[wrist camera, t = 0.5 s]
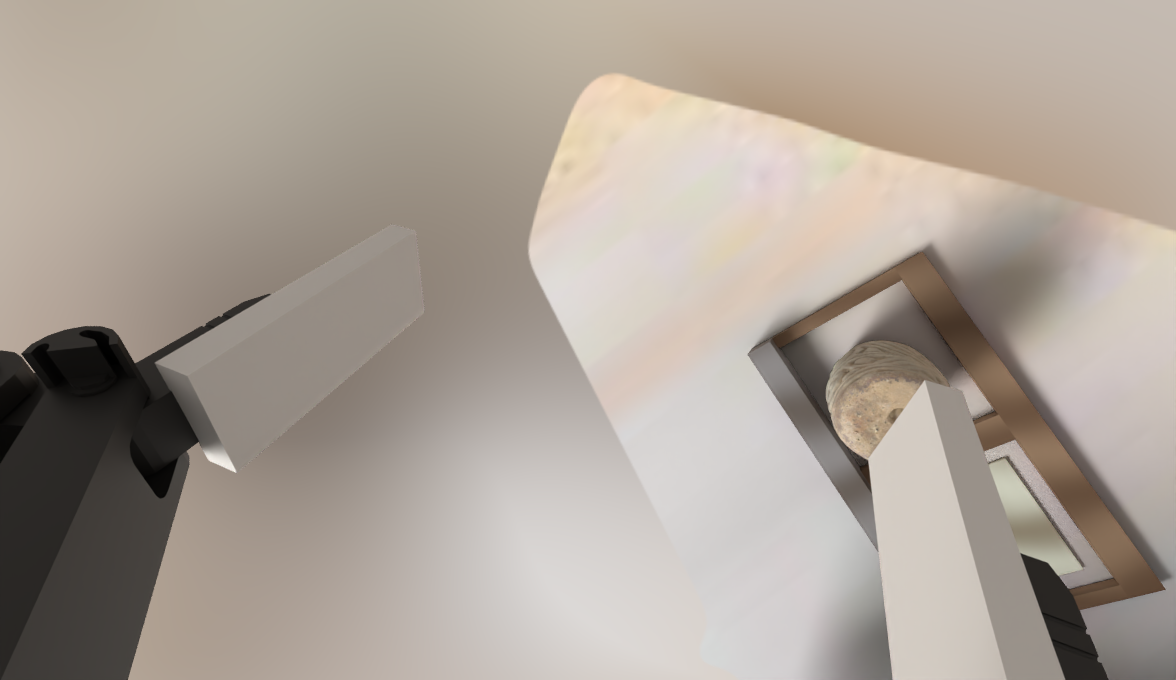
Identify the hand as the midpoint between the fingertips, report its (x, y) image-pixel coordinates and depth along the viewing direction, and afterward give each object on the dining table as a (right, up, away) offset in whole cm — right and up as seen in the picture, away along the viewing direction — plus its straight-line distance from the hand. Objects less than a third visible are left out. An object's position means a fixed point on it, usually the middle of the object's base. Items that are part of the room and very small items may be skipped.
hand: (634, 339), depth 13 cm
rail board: (+25, -9, +25) cm, 36 cm away
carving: (+22, -3, +26) cm, 34 cm away
